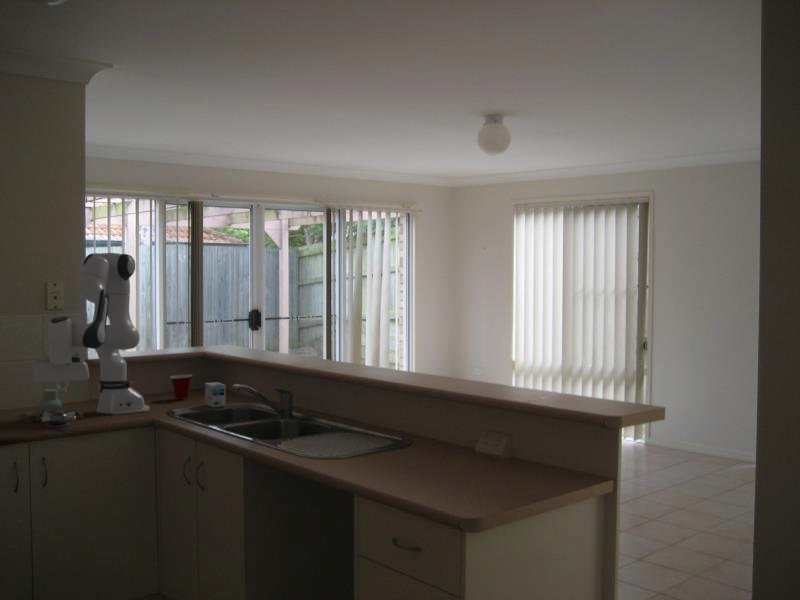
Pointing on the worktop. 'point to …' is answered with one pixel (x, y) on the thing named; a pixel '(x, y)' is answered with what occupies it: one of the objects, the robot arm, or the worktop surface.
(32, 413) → the level stand
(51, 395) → the air freshener
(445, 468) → the worktop surface
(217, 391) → the light bulb box
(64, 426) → the pedestal
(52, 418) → the capstan
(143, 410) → the robot arm
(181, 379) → the plastic cup
